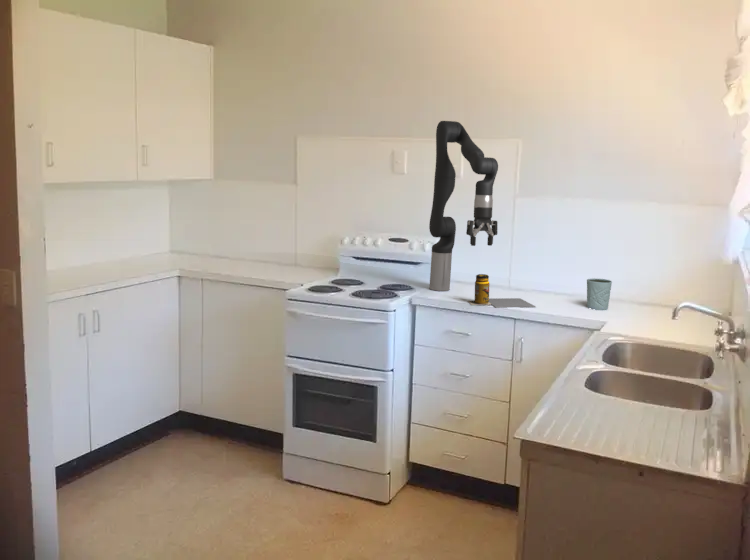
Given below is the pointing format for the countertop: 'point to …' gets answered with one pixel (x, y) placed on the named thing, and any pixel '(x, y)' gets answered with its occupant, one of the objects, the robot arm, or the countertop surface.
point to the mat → (509, 302)
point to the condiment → (481, 290)
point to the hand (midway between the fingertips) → (481, 245)
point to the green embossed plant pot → (598, 293)
